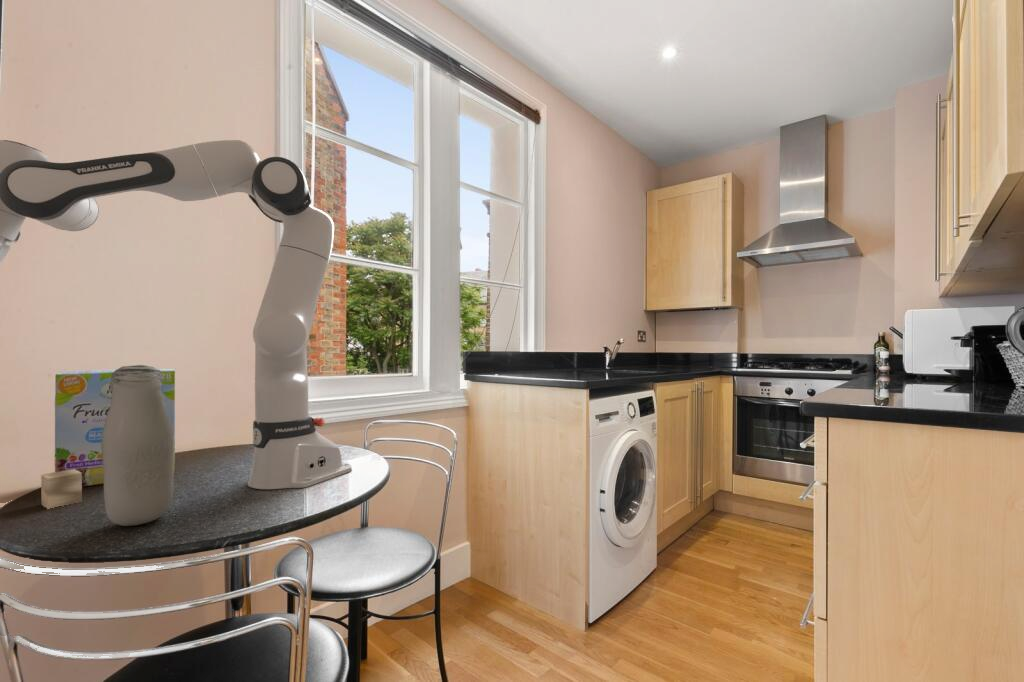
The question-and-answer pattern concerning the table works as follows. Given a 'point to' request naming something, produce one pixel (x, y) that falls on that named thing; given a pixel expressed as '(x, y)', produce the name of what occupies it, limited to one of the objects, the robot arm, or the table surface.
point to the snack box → (92, 419)
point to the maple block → (61, 488)
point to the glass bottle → (137, 448)
